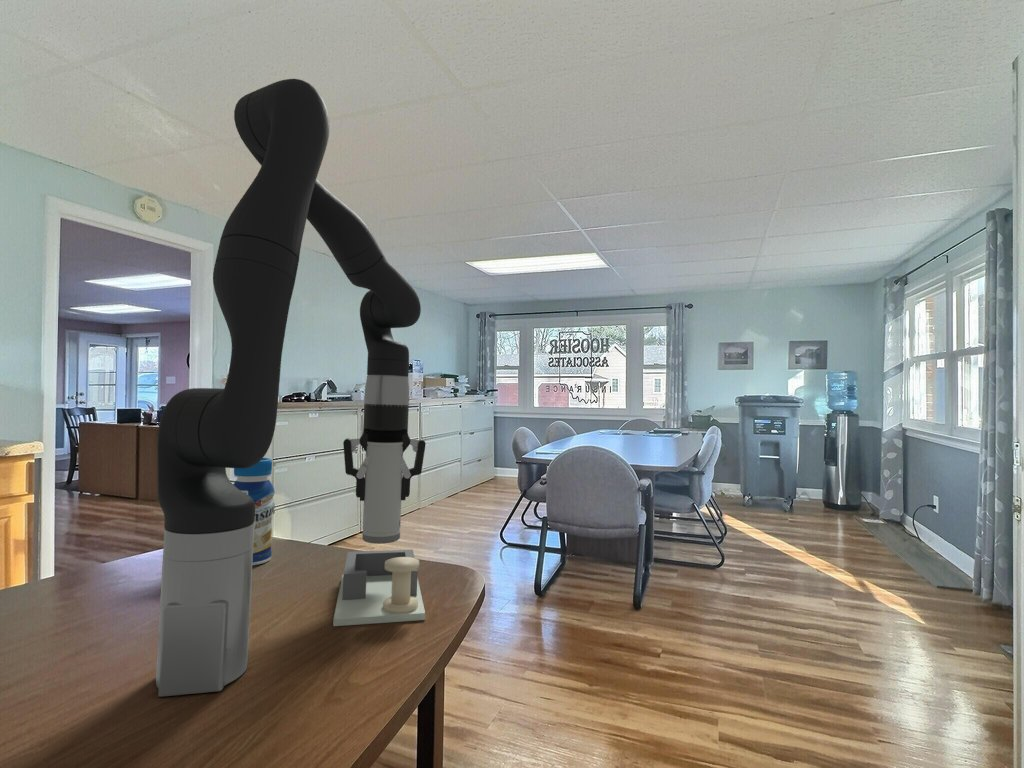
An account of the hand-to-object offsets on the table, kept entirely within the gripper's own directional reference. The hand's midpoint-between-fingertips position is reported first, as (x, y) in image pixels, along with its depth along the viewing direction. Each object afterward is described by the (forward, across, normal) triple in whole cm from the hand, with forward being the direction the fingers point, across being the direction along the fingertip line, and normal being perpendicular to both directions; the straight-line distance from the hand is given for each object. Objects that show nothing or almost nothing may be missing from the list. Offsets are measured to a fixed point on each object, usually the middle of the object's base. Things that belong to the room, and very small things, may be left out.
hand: (382, 499), depth 91 cm
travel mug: (+7, 0, 0) cm, 7 cm away
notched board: (+15, 0, -4) cm, 16 cm away
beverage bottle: (+16, -25, +20) cm, 36 cm away
